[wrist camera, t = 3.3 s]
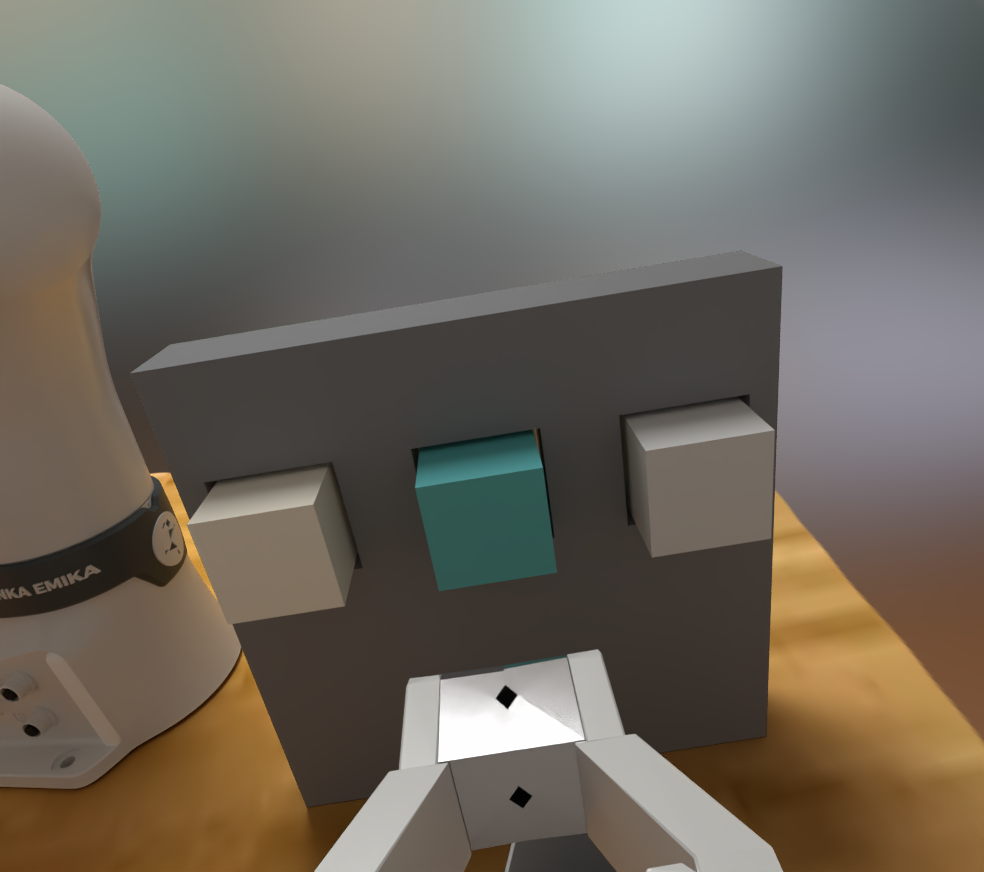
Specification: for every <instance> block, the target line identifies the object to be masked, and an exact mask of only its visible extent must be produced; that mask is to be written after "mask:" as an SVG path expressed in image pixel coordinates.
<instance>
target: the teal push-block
mask: <svg viewBox="0 0 984 872" xmlns="http://www.w3.org/2000/svg"><path fill="white" fill-rule="evenodd" d="M415 490H416V494H417V499H418V503H419V507H420V512H421V516H422V520H423V524H424V529H425V533H426V537H427V542H428V546H429V550H430V555H431V559H432V563H433V568H434V572H435V576H436V581H437V585H438V589H439V591H444V590H451V589H457V588H463V587H470V586H476V585H482V584H488V583H495V582H501V581H507V580H514V579H520V578H526V577H533V576H539V575H545V574H552V573H557V568H556V561H555V554H554V546H553V539H552V531H551V524H550V517H549V509H548V502H547V494H546V487H545V480H544V472H543V466H542V462H541V459H540V455H539V452H538V448H537V444H536V441H535V437H534V433H533V430H526V431H519V432H513V433H507V434H501V435H495V436H489V437H482V438H476V439H470V440H464V441H458V442H451V443H445V444H439V445H433V446H427V447H420V449H419V458H418V466H417V475H416V484H415Z"/></svg>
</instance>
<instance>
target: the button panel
mask: <svg viewBox="0 0 984 872" xmlns="http://www.w3.org/2000/svg"><path fill="white" fill-rule="evenodd" d="M781 293H782V266H781V265H778V264H775V263H773V262H770V261H767V260H765V259H762V258H759V257H757V256H754V255H751V254H748V253H746V252H743V251H736V252H730V253H724V254H718V255H713V256H706V257H700V258H694V259H688V260H682V261H676V262H670V263H663V264H657V265H652V266H645V267H639V268H633V269H627V270H621V271H615V272H609V273H603V274H597V275H591V276H585V277H579V278H572V279H566V280H560V281H554V282H548V283H542V284H536V285H531V286H524V287H518V288H512V289H506V290H500V291H493V292H488V293H482V294H475V295H470V296H463V297H457V298H451V299H445V300H439V301H433V302H427V303H421V304H415V305H409V306H402V307H397V308H391V309H384V310H378V311H372V312H367V313H360V314H355V315H348V316H342V317H336V318H330V319H323V320H317V321H312V322H306V323H299V324H293V325H288V326H282V327H275V328H269V329H263V330H257V331H251V332H245V333H238V334H233V335H226V336H220V337H214V338H208V339H202V340H196V341H190V342H184V343H178V344H172V345H169V346H168V347H166V348H165V349H164V350H162V351H161V352H160V353H158V354H157V355H155V356H154V357H152V358H151V359H149V360H148V361H147V362H145V363H144V364H143V365H141V366H140V367H138V368H137V369H136V370H134V371H133V372H131V373H130V374H131V377H132V379H133V382H134V384H135V387H136V389H137V392H138V394H139V397H140V399H141V402H142V404H143V406H144V409H145V411H146V414H147V416H148V419H149V421H150V423H151V426H152V428H153V431H154V433H155V436H156V438H157V441H158V443H159V446H160V448H161V451H162V453H163V456H164V458H165V460H166V463H167V465H168V468H169V470H170V473H171V475H172V478H173V480H174V483H175V485H176V487H177V490H178V492H179V495H180V497H181V500H182V502H183V505H184V507H185V510H186V512H187V514H188V517H189V519H191V518H192V517H193V515H194V514H195V512H196V511H197V509H198V508H199V507H200V505H201V504H202V502H203V501H204V499H205V498H206V497H207V495H208V494H209V492H210V491H211V489H212V488H213V487H214V485H215V484H216V482H217V481H218V480H222V479H229V478H235V477H241V476H247V475H253V474H260V473H266V472H272V471H278V470H284V469H291V468H297V467H303V466H309V465H315V464H321V463H328V462H332V463H333V466H334V470H335V473H336V477H337V480H338V484H339V487H340V491H341V494H342V498H343V501H344V505H345V508H346V512H347V515H348V519H349V522H350V526H351V529H352V532H353V536H354V539H355V543H356V546H357V550H358V553H357V557H356V561H355V566H354V570H353V574H352V578H351V583H350V587H349V591H348V595H347V600H346V604H345V606H343V607H337V608H331V609H324V610H318V611H312V612H305V613H299V614H293V615H286V616H280V617H274V618H268V619H261V620H255V621H249V622H242V623H236V624H232V625H233V627H234V630H235V632H236V635H237V637H238V640H239V642H240V645H241V647H242V650H243V652H244V654H245V657H246V659H247V662H248V664H249V667H250V669H251V672H252V674H253V677H254V679H255V681H256V684H257V686H258V689H259V691H260V694H261V696H262V699H263V701H264V704H265V706H266V708H267V711H268V713H269V716H270V718H271V721H272V723H273V726H274V728H275V731H276V733H277V735H278V738H279V740H280V743H281V745H282V748H283V750H284V753H285V755H286V758H287V760H288V762H289V765H290V767H291V770H292V772H293V775H294V777H295V780H296V782H297V785H298V787H299V789H300V792H301V794H302V797H303V799H304V802H305V804H306V807H312V806H318V805H325V804H331V803H338V802H344V801H351V800H357V799H364V798H370V796H371V795H372V794H373V792H374V791H375V790H376V788H377V787H378V786H379V784H380V783H381V782H382V780H383V779H384V778H385V776H386V775H387V774H388V772H390V771H395V770H399V762H400V751H401V740H402V729H403V718H404V707H405V696H406V686H407V684H408V681H409V679H410V678H417V677H426V676H434V675H442V674H443V673H451V672H458V671H466V670H474V669H481V668H489V667H497V666H504V665H508V664H514V663H520V662H526V661H532V660H538V659H545V658H551V657H557V656H563V655H566V657H567V654H573V653H579V652H585V651H591V650H597V649H598V650H599V651H600V652H601V654H602V657H603V660H604V664H605V667H606V671H607V674H608V677H609V681H610V684H611V688H612V691H613V695H614V698H615V701H616V705H617V708H618V712H619V715H620V718H621V722H622V725H623V729H624V732H625V735H630V734H636V735H637V736H639V737H640V738H641V739H642V740H643V741H645V742H646V743H647V744H648V745H650V746H651V747H652V748H653V749H654V750H656V751H657V752H658V753H662V752H669V751H675V750H682V749H688V748H695V747H701V746H707V745H714V744H720V743H727V742H733V741H740V740H746V739H753V738H759V737H766V731H767V702H768V672H769V643H770V614H771V585H772V556H773V527H774V498H775V467H776V439H777V410H778V409H777V408H778V379H779V352H780V351H779V350H780V321H781ZM736 396H737V397H738V398H739V399H740V400H741V401H743V402H744V403H745V404H746V405H747V406H748V407H749V408H750V409H752V410H753V411H754V412H755V413H756V414H757V415H758V416H759V417H760V418H762V419H763V420H764V421H765V422H766V423H767V424H768V425H769V426H771V427H772V428H773V429H774V430H775V437H774V467H773V498H772V528H771V539H766V540H760V541H754V542H747V543H741V544H735V545H728V546H722V547H716V548H709V549H703V550H697V551H690V552H684V553H678V554H671V555H665V556H659V557H653V558H652V557H651V555H650V552H649V550H648V548H647V546H646V544H645V542H644V540H643V538H642V536H641V534H640V532H639V529H638V527H637V525H636V523H635V521H634V519H633V517H632V515H631V513H630V511H629V509H628V506H627V504H626V497H625V484H624V471H623V458H622V445H621V432H620V418H619V415H625V414H631V413H637V412H643V411H649V410H656V409H662V408H668V407H674V406H680V405H687V404H693V403H699V402H705V401H711V400H717V399H724V398H730V397H736ZM532 429H535V434H536V441H537V448H538V452H539V455H540V459H541V462H542V466H543V472H544V480H545V487H546V494H547V502H548V509H549V517H550V524H551V531H552V539H553V546H554V554H555V561H556V568H557V573H552V574H545V575H539V576H533V577H526V578H520V579H514V580H507V581H501V582H495V583H488V584H482V585H476V586H470V587H463V588H457V589H451V590H444V591H439V589H438V585H437V581H436V576H435V572H434V568H433V563H432V559H431V555H430V550H429V546H428V542H427V537H426V533H425V529H424V524H423V520H422V516H421V512H420V507H419V503H418V499H417V494H416V490H415V484H416V475H417V466H418V458H419V449H420V447H427V446H433V445H439V444H445V443H451V442H458V441H464V440H470V439H476V438H482V437H489V436H495V435H501V434H507V433H513V432H519V431H526V430H532Z"/></svg>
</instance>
